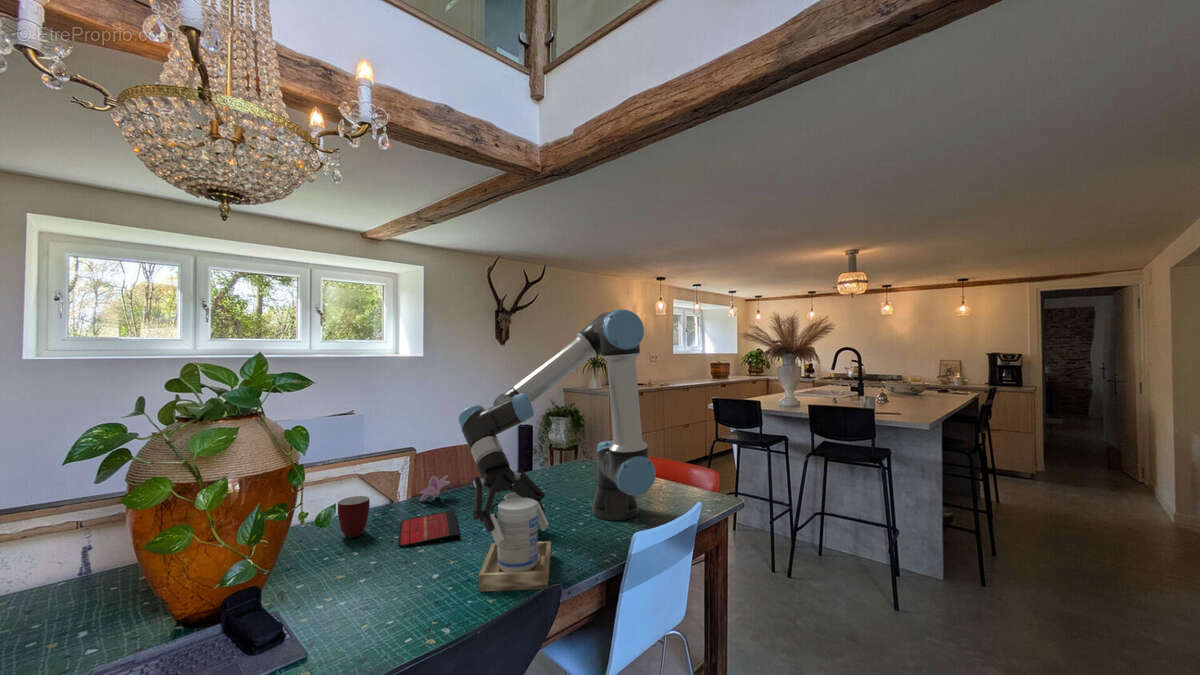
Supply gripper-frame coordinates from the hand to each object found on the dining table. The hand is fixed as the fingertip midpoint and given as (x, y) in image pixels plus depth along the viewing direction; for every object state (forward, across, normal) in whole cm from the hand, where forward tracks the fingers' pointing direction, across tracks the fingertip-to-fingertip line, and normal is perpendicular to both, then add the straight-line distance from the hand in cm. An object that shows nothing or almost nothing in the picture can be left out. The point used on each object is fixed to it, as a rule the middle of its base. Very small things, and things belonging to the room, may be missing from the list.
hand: (523, 535), depth 108 cm
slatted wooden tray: (+5, 0, -8) cm, 10 cm away
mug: (-32, +21, -46) cm, 60 cm away
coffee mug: (-11, -13, -24) cm, 30 cm away
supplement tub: (+4, 0, -8) cm, 8 cm away
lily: (-40, -8, -54) cm, 68 cm away
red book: (-23, +5, -37) cm, 44 cm away
